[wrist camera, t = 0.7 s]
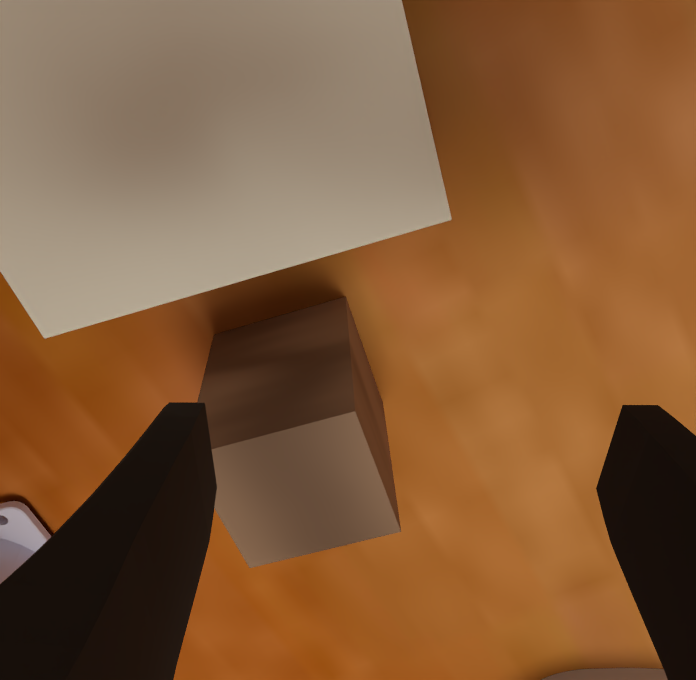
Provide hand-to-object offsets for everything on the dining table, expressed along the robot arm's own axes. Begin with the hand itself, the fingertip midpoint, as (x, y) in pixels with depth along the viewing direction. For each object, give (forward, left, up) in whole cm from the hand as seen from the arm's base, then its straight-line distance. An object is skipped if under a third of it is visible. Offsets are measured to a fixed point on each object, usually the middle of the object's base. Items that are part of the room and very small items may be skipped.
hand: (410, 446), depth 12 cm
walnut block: (-4, -4, -10) cm, 12 cm away
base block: (-4, +7, -11) cm, 13 cm away
